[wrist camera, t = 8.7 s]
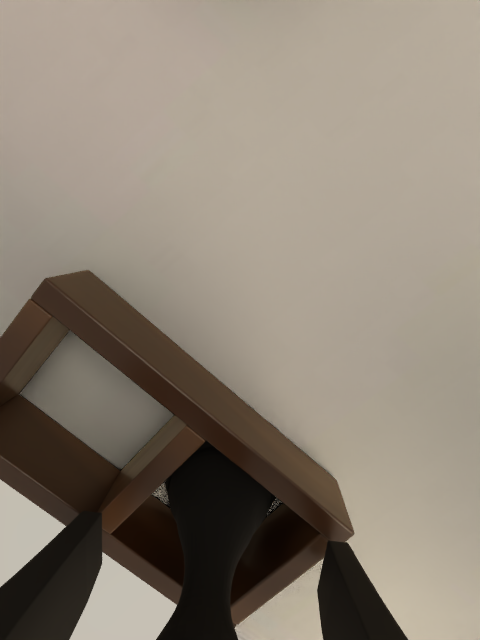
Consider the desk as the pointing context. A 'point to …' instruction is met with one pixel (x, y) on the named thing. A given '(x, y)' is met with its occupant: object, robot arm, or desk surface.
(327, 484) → the holder
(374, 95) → the desk surface
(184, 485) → the chess piece
